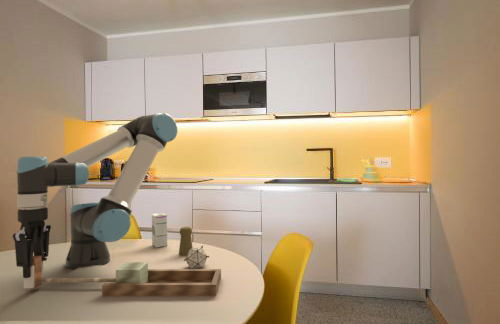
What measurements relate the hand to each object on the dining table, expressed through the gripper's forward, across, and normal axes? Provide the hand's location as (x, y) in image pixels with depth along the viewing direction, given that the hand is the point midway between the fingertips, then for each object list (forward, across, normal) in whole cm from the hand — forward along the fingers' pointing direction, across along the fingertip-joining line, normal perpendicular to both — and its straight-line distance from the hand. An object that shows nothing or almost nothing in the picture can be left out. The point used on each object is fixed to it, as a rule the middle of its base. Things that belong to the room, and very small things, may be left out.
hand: (33, 285), depth 95 cm
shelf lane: (+2, 0, -40) cm, 40 cm away
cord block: (+1, 0, -16) cm, 16 cm away
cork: (+2, +38, -38) cm, 54 cm away
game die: (+2, +18, -46) cm, 49 cm away
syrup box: (+2, +51, -23) cm, 56 cm away
